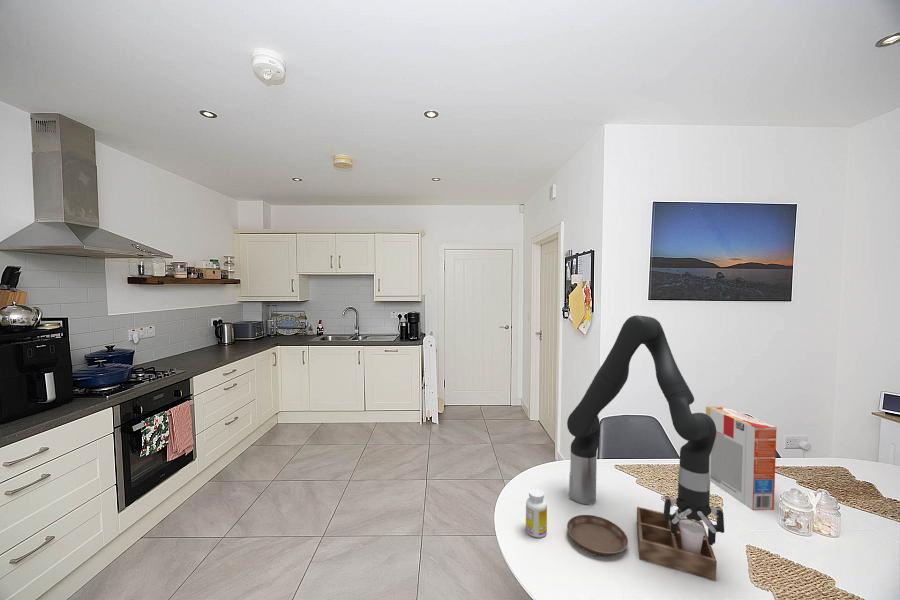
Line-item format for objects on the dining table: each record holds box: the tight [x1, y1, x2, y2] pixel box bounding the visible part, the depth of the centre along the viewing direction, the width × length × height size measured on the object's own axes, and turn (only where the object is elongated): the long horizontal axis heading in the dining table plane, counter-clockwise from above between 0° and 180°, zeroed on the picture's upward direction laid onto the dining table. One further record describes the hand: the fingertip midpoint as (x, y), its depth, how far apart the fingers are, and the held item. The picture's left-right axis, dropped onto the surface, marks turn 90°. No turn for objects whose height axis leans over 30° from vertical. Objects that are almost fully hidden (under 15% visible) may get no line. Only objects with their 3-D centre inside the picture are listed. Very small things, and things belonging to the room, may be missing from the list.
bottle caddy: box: [636, 506, 718, 582], centre depth 110 cm, size 18×18×6 cm
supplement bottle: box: [525, 488, 548, 538], centre depth 117 cm, size 7×7×13 cm
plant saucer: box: [566, 514, 629, 558], centre depth 113 cm, size 18×18×3 cm
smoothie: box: [679, 519, 706, 555], centre depth 104 cm, size 6×6×14 cm
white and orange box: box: [705, 405, 777, 511], centre depth 141 cm, size 23×8×30 cm, turn 3°
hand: (692, 538), depth 104 cm, fingers open, 8 cm apart
